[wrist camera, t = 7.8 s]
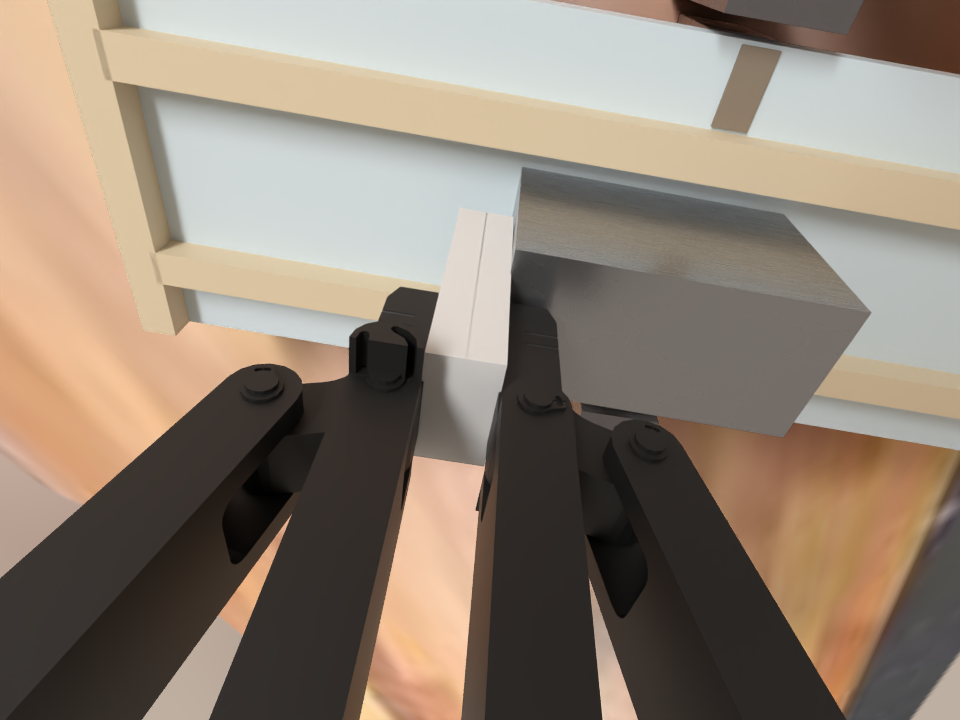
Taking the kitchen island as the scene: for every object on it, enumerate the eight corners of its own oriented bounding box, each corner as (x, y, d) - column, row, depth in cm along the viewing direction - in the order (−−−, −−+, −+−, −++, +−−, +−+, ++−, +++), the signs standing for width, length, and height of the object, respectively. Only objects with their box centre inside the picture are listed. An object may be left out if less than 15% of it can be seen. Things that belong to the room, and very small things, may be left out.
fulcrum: (682, -46, 17) (742, -40, 12) (775, -29, 17) (871, -16, 12) (566, 340, 26) (575, 429, 21) (627, 350, 26) (649, 440, 22)
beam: (83, -85, 14) (20, -88, 13) (1384, 151, 15) (1494, 178, 13) (174, 299, 22) (143, 330, 20) (1046, 446, 22) (1088, 488, 21)
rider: (522, 166, 16) (515, 249, 12) (783, 214, 16) (871, 312, 12) (498, 282, 19) (486, 386, 14) (726, 322, 19) (783, 437, 14)
